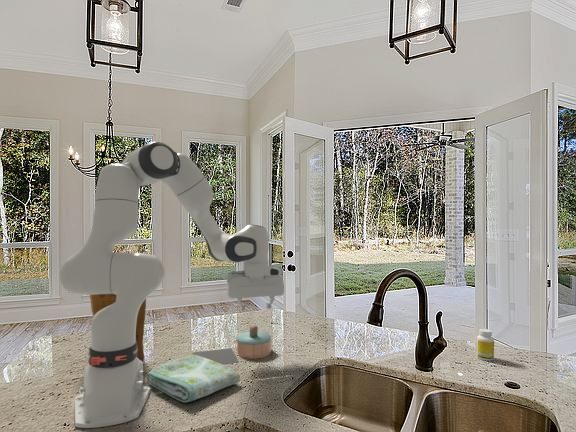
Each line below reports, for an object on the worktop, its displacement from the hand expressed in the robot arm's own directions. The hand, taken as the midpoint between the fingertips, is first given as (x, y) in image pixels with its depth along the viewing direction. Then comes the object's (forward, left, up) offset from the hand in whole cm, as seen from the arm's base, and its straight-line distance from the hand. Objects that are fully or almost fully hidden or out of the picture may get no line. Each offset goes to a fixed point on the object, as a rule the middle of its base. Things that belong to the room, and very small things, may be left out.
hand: (255, 309), depth 137 cm
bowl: (+1, 0, -16) cm, 16 cm away
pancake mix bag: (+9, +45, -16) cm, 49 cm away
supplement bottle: (-28, -76, -16) cm, 82 cm away
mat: (0, +14, -16) cm, 21 cm away
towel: (-19, +23, -16) cm, 34 cm away
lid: (+2, 0, -11) cm, 11 cm away
